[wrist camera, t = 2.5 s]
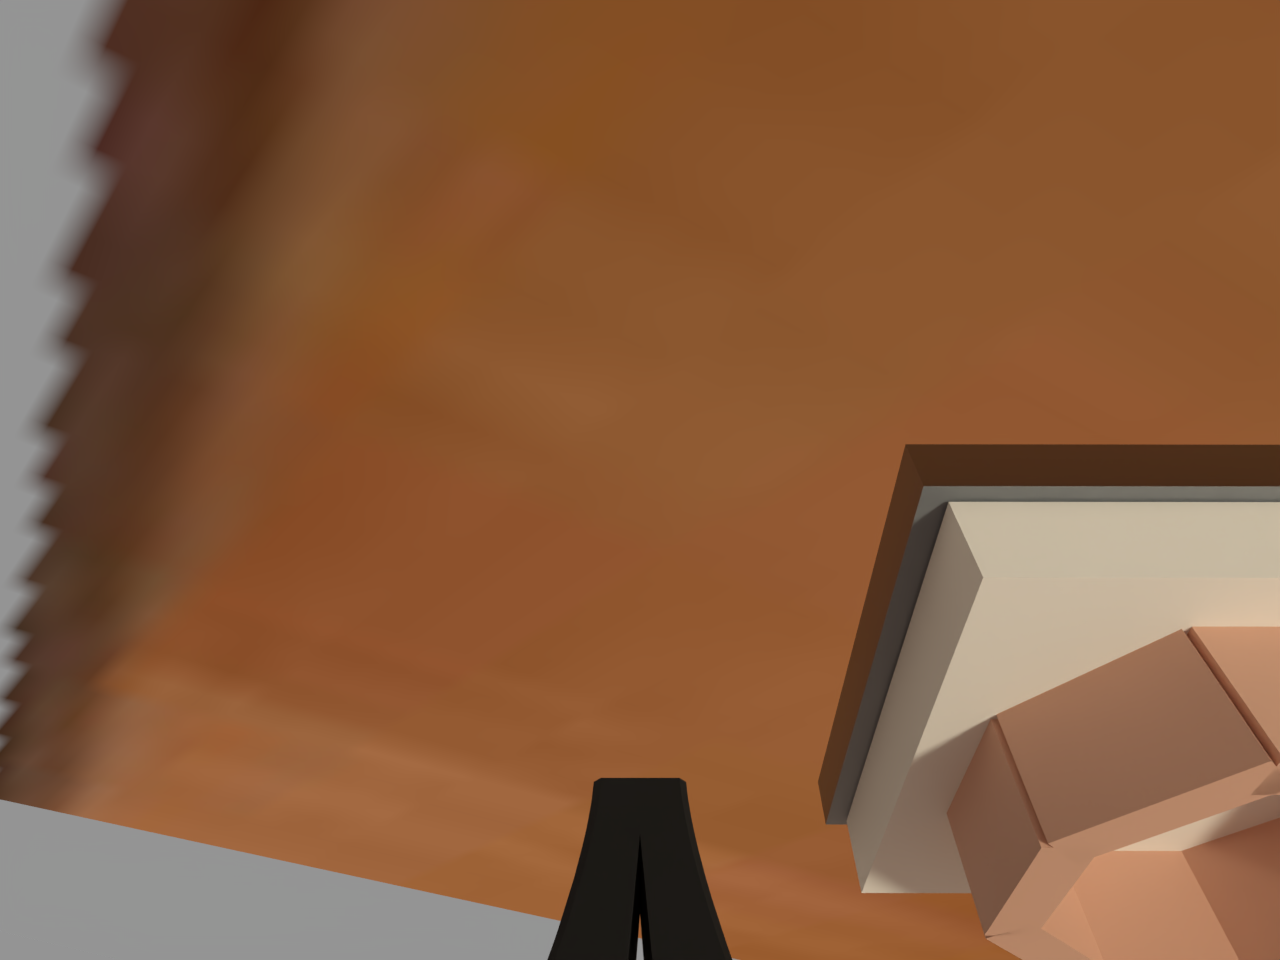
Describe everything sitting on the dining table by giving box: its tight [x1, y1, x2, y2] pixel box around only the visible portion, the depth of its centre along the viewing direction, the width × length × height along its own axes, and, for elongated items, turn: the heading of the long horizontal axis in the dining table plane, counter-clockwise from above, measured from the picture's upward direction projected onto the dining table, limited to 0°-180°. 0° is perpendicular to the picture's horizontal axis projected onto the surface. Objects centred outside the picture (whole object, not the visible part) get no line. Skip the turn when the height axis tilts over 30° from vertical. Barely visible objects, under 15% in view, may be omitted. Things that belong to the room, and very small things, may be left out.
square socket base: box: [847, 502, 1280, 960], centre depth 13 cm, size 9×9×4 cm
